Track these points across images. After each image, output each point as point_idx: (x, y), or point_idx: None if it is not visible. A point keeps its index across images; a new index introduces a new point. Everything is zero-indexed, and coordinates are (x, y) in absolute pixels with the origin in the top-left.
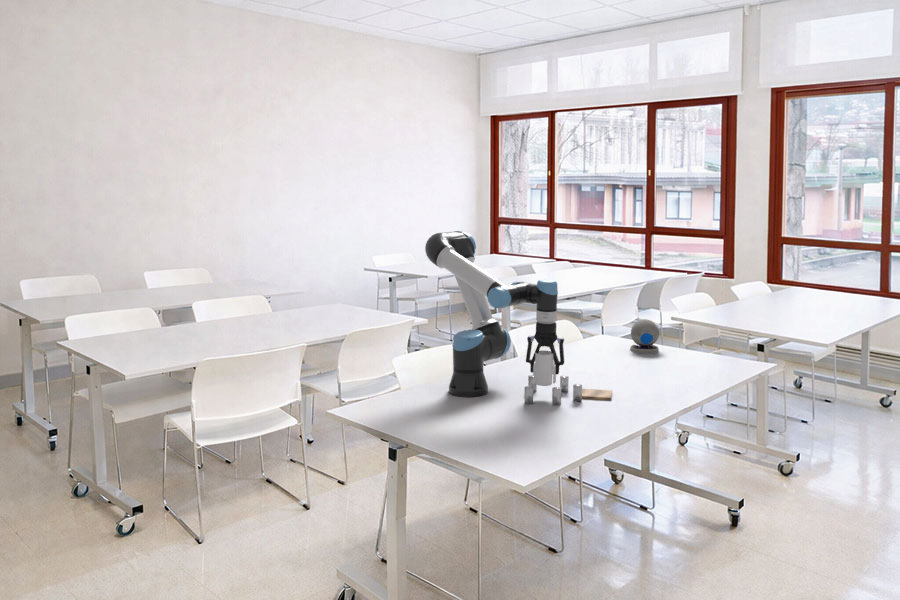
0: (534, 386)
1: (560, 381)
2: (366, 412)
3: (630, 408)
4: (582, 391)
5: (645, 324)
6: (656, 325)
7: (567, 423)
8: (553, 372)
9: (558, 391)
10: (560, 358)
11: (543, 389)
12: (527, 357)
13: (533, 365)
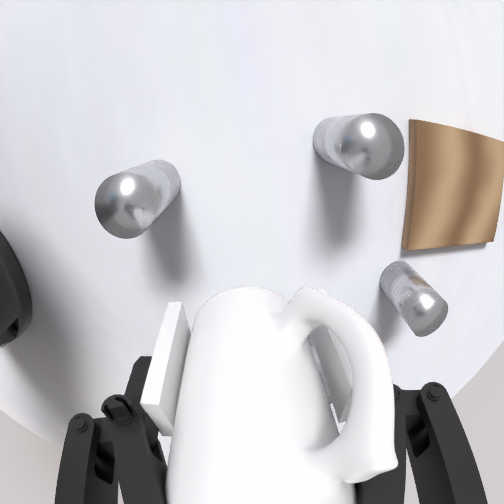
0: (165, 208)
1: (338, 159)
2: (3, 404)
3: (499, 295)
4: (427, 173)
5: None
6: None
7: (340, 432)
8: (327, 382)
9: None
10: (413, 462)
11: (209, 125)
12: (103, 476)
13: (163, 432)
